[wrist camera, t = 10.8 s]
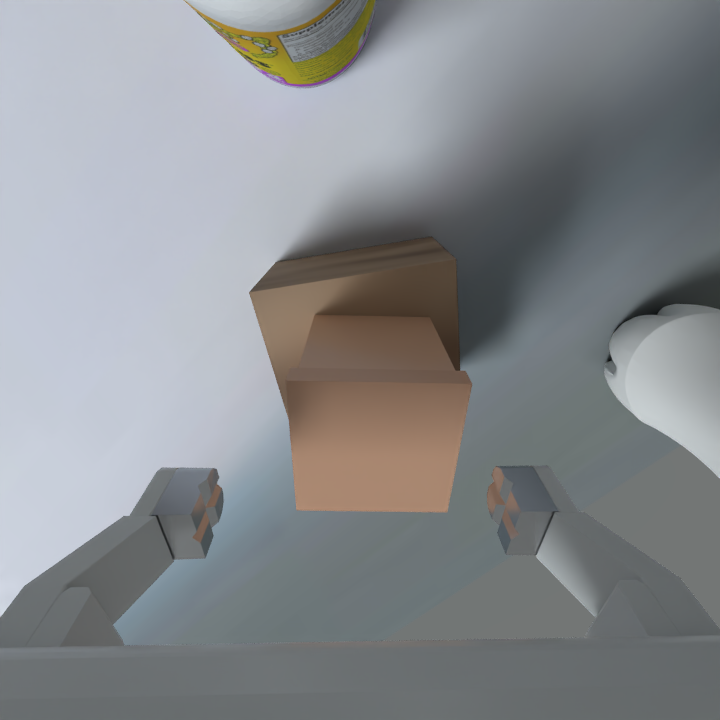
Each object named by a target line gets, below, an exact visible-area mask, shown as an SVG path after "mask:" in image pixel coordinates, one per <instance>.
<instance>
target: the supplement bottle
mask: <svg viewBox="0 0 720 720" xmlns="http://www.w3.org/2000/svg"><path fill="white" fill-rule="evenodd" d="M184 1H185V2H186V3H187V4H188V5H189V6H191V7H192V8H193V9H194V10H195V11H196V12H197V13H198V14H199V15H200V16H201V17H202V18H203V19H204V20H205V21H206V22H207V23H208V24H209V25H210V26H211V27H212V28H213V29H214V30H215V31H216V32H217V33H218V34H219V35H220V36H222V37H223V38H224V39H225V40H226V41H227V42H228V43H229V44H230V45H231V46H232V47H233V48H234V49H235V50H236V51H237V52H238V53H239V54H240V55H241V56H243V57H244V58H245V59H246V60H247V61H248V62H249V63H250V64H251V65H252V66H253V67H254V68H256V69H257V70H258V71H259V72H261V73H262V74H263V75H265V76H266V77H268V78H270V79H271V80H273V81H275V82H277V83H280V84H282V85H285V86H289V87H294V88H313V87H318V86H321V85H324V84H326V83H328V82H330V81H332V80H334V79H335V78H337V77H338V76H339V75H341V74H342V73H343V72H344V71H345V70H346V69H347V68H348V67H349V66H350V65H351V64H352V63H353V62H354V60H355V59H356V57H357V56H358V55H359V53H360V51H361V49H362V47H363V46H364V43H365V41H366V39H367V36H368V34H369V31H370V28H371V24H372V20H373V16H374V11H375V6H376V0H184Z"/></svg>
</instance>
